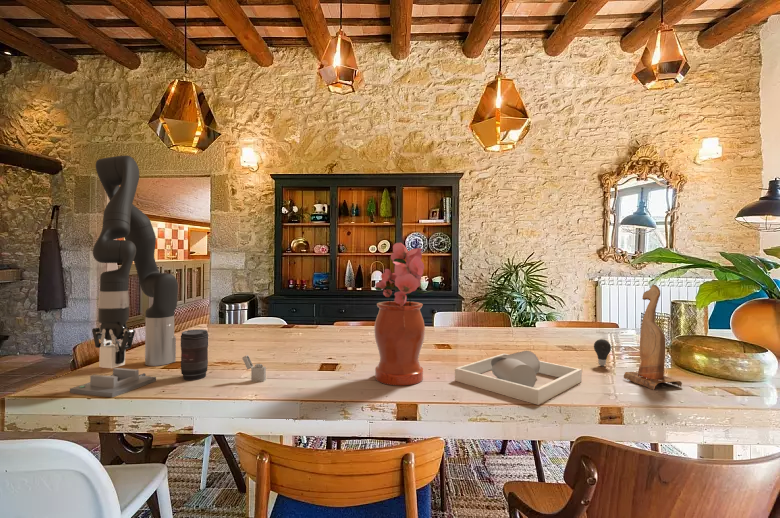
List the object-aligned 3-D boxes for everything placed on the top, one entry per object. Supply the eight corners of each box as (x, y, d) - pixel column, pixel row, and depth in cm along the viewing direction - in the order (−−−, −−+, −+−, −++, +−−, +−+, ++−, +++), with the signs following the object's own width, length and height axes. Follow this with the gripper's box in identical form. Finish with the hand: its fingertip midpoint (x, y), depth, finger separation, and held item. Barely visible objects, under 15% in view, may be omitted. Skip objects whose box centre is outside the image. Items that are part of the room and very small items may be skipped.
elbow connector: (478, 369, 134) (502, 389, 114) (485, 339, 134) (509, 354, 114) (525, 379, 136) (557, 400, 116) (532, 350, 136) (564, 365, 116)
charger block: (99, 367, 115) (99, 346, 115) (113, 363, 119) (113, 343, 119) (111, 368, 114) (111, 347, 114) (125, 364, 118) (125, 344, 118)
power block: (125, 374, 129) (125, 362, 129) (163, 378, 125) (163, 365, 125) (69, 392, 111) (69, 378, 111) (112, 397, 108) (112, 382, 108)
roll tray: (503, 364, 146) (503, 353, 146) (581, 381, 125) (581, 369, 125) (454, 380, 125) (454, 368, 125) (538, 405, 105) (538, 390, 105)
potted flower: (425, 366, 142) (426, 243, 142) (437, 389, 116) (438, 240, 116) (373, 366, 141) (374, 242, 141) (374, 390, 115) (375, 239, 115)
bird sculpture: (647, 376, 131) (648, 283, 131) (683, 387, 120) (683, 285, 120) (622, 379, 127) (623, 283, 128) (657, 391, 116) (657, 285, 116)
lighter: (265, 380, 124) (266, 355, 124) (263, 381, 122) (263, 356, 122) (244, 379, 125) (244, 354, 125) (241, 381, 123) (242, 356, 123)
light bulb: (590, 364, 146) (590, 337, 146) (604, 364, 147) (604, 337, 147) (599, 368, 141) (599, 340, 141) (614, 368, 141) (614, 340, 141)
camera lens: (176, 381, 122) (176, 334, 122) (185, 374, 130) (186, 329, 130) (203, 380, 123) (204, 333, 123) (211, 373, 131) (211, 329, 131)
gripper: (82, 306, 115) (81, 364, 114) (121, 308, 111) (120, 367, 111) (107, 303, 122) (105, 358, 122) (144, 305, 119) (142, 361, 118)
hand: (112, 362), depth 116 cm, fingers closed on charger block, 4 cm apart
